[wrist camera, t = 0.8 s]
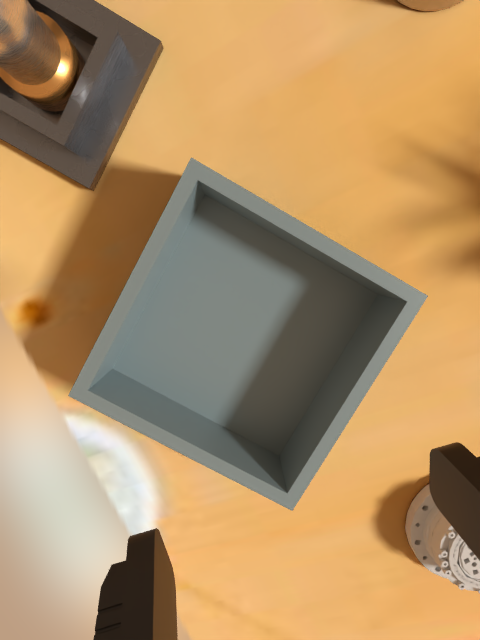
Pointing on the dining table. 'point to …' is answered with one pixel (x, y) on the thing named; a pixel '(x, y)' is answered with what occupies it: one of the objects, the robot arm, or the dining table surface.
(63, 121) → the stud mount
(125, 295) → the bin
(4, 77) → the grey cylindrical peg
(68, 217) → the dining table surface
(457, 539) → the mechanical component
